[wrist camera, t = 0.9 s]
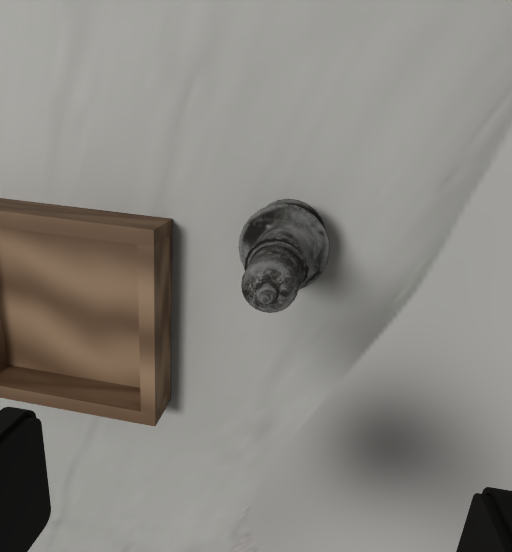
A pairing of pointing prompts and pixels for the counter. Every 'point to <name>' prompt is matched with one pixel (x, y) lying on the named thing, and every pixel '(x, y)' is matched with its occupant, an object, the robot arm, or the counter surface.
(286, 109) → the counter surface
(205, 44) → the counter surface
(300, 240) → the dark grey rounded piece
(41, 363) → the tray
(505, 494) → the robot arm
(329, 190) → the counter surface
